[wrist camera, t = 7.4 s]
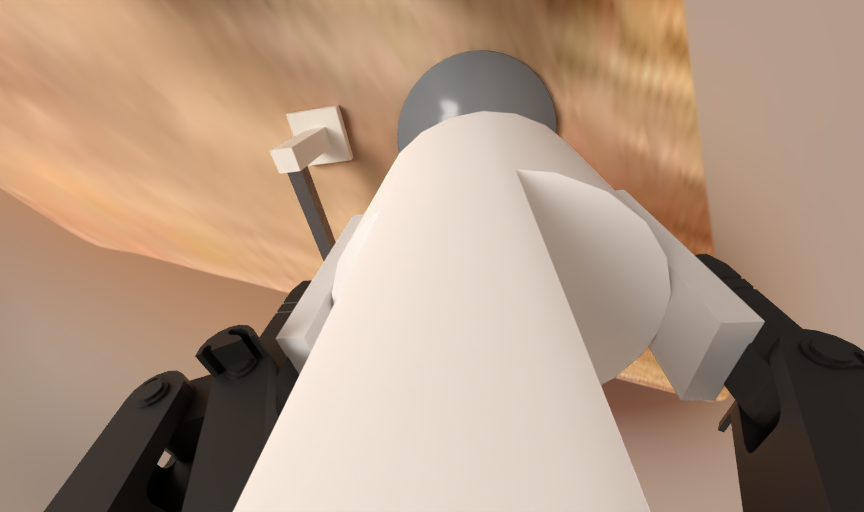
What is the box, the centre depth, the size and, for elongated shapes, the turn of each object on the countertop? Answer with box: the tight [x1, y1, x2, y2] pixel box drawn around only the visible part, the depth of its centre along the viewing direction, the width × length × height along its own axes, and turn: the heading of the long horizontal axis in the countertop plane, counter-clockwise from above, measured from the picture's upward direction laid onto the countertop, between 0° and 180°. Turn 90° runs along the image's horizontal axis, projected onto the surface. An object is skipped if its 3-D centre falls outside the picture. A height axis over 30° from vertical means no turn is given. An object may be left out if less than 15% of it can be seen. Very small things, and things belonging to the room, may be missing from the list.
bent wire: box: [288, 166, 336, 261], centre depth 23 cm, size 10×10×1 cm
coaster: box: [397, 50, 556, 153], centre depth 24 cm, size 12×12×1 cm
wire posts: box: [270, 105, 353, 174], centre depth 24 cm, size 18×6×6 cm, turn 53°
